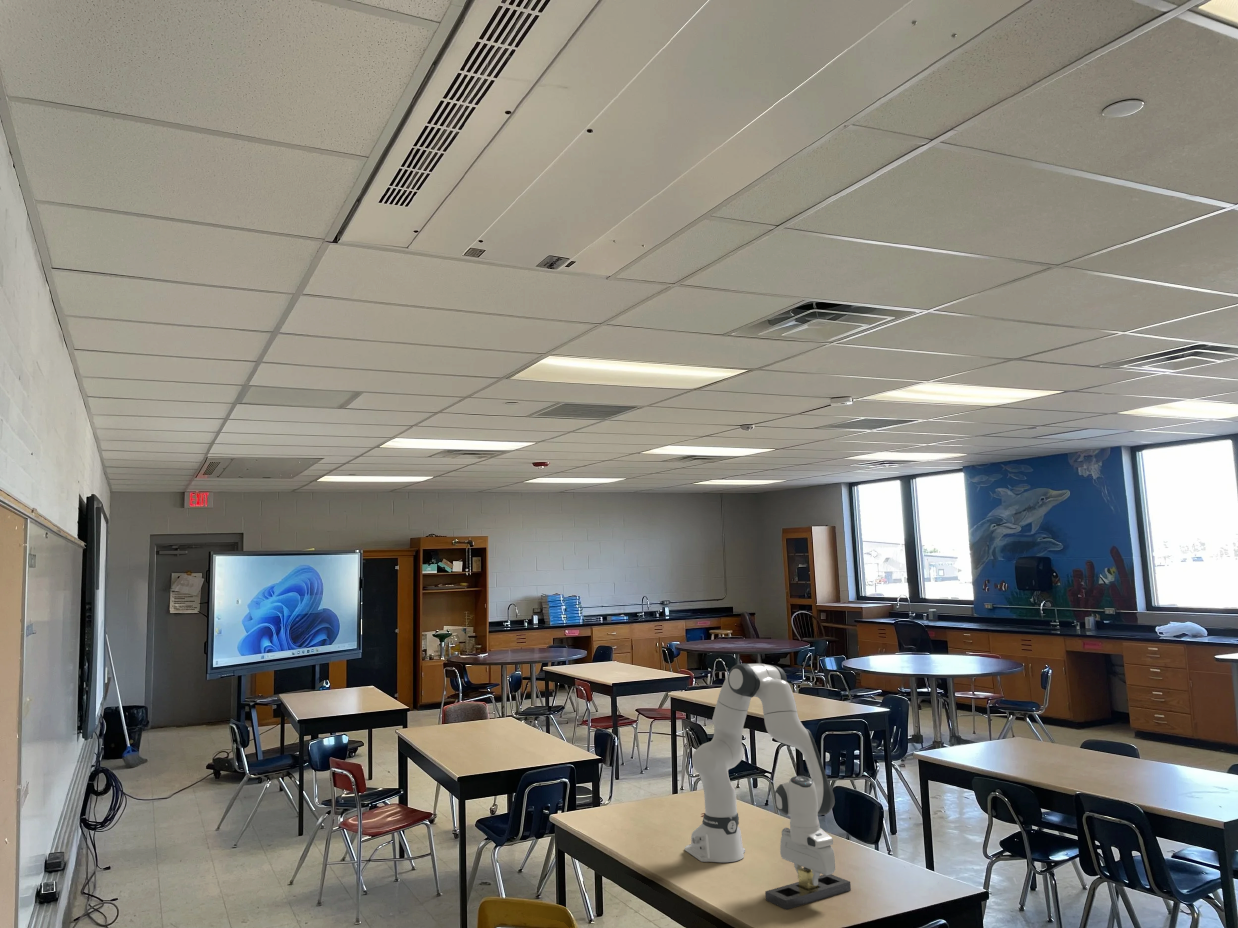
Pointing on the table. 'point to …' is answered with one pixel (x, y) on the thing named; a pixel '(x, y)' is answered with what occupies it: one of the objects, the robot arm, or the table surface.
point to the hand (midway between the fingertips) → (808, 882)
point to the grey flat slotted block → (807, 892)
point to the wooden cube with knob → (805, 879)
